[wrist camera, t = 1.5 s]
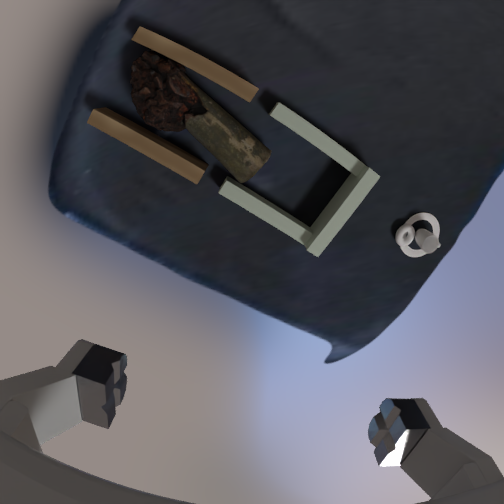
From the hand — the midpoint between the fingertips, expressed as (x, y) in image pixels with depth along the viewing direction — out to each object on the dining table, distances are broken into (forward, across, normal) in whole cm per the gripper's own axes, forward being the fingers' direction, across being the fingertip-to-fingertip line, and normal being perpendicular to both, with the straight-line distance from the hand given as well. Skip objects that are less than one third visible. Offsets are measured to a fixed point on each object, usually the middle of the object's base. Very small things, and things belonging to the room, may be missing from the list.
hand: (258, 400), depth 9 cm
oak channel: (+34, +14, -12) cm, 39 cm away
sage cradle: (+37, -4, -6) cm, 37 cm away
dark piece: (+35, +11, -11) cm, 39 cm away
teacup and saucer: (+39, -25, -5) cm, 47 cm away
